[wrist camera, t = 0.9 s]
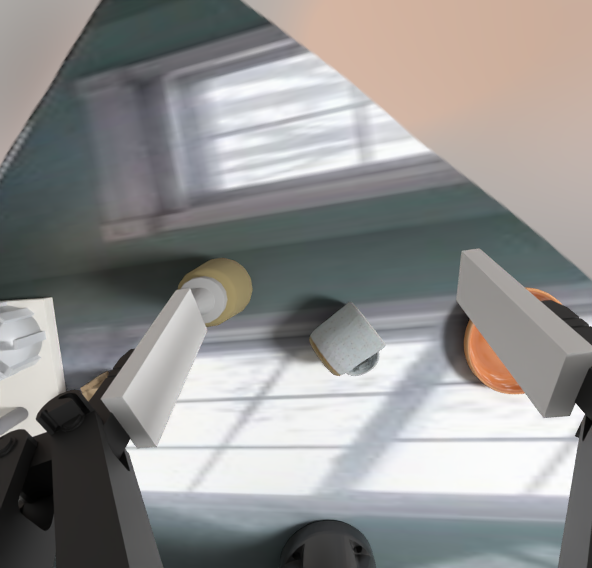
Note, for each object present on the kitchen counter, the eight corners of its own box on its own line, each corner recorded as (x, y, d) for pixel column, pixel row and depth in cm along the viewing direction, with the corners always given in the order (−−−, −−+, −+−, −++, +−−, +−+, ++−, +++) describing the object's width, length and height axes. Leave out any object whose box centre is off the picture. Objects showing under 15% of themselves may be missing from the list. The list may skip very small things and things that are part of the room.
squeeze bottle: (186, 283, 44) (121, 304, 26) (227, 245, 44) (190, 240, 26) (225, 324, 45) (188, 371, 27) (266, 287, 45) (256, 310, 27)
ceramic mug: (303, 331, 46) (307, 348, 38) (345, 296, 45) (359, 306, 38) (346, 382, 47) (359, 409, 39) (388, 349, 47) (410, 369, 39)
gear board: (83, 505, 47) (36, 564, 38) (8, 512, 46) (-57, 574, 37) (52, 297, 43) (-8, 309, 34) (-29, 302, 43) (-111, 316, 34)
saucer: (457, 391, 48) (468, 400, 45) (454, 290, 46) (466, 292, 43) (555, 381, 49) (573, 389, 46) (556, 281, 47) (575, 283, 44)
